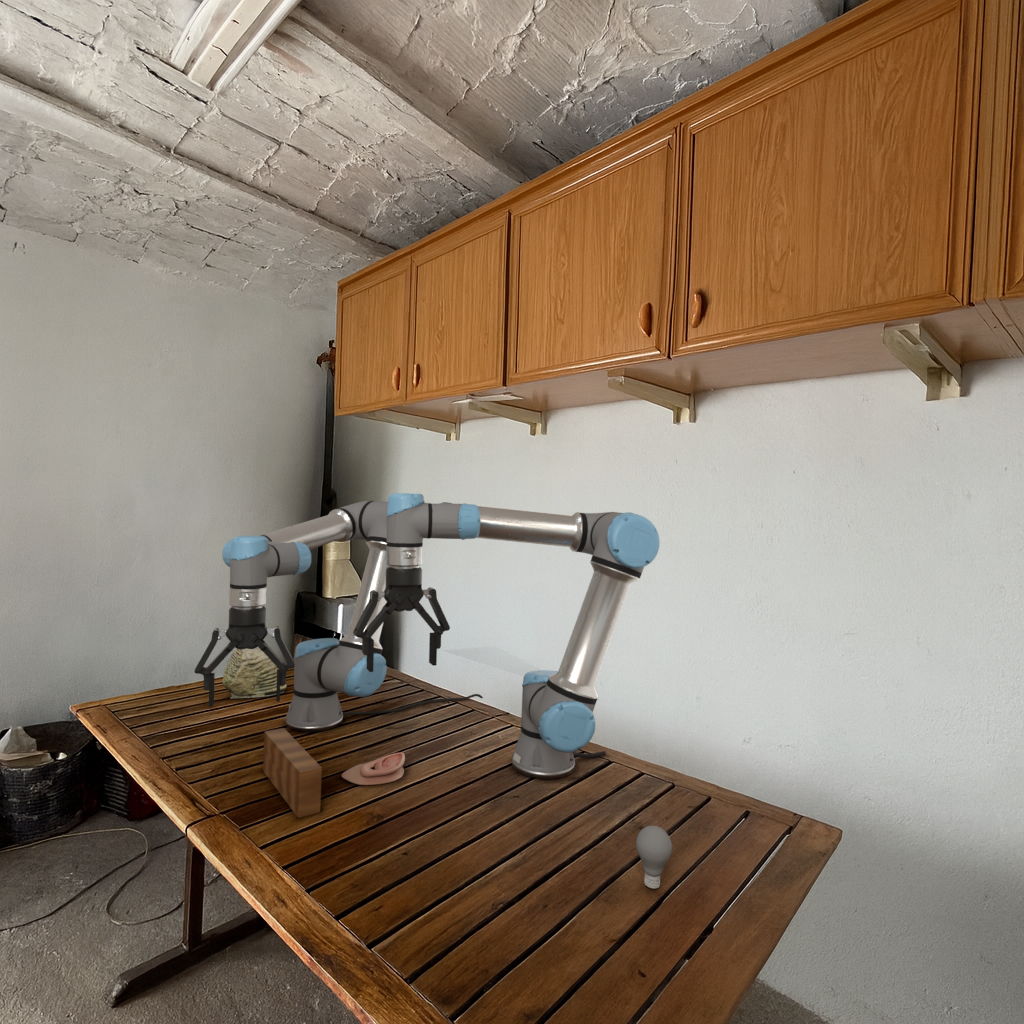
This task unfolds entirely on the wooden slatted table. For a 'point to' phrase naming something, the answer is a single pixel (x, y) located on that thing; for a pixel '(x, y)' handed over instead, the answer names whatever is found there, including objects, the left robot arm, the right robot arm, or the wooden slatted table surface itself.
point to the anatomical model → (377, 770)
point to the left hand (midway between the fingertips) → (245, 702)
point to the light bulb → (653, 853)
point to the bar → (292, 772)
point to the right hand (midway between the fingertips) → (402, 667)
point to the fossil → (251, 674)
